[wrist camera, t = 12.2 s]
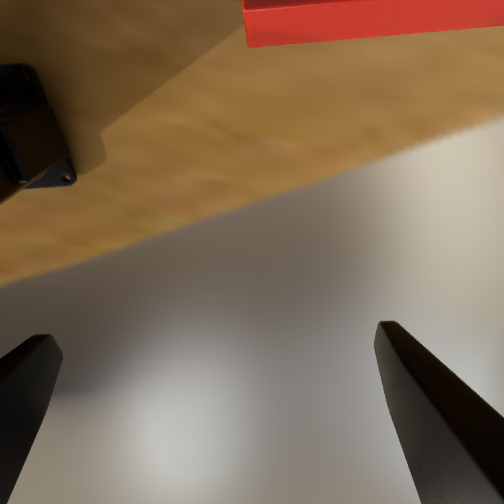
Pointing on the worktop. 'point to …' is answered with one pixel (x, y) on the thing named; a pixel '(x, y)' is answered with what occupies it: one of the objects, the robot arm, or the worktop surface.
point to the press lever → (360, 18)
